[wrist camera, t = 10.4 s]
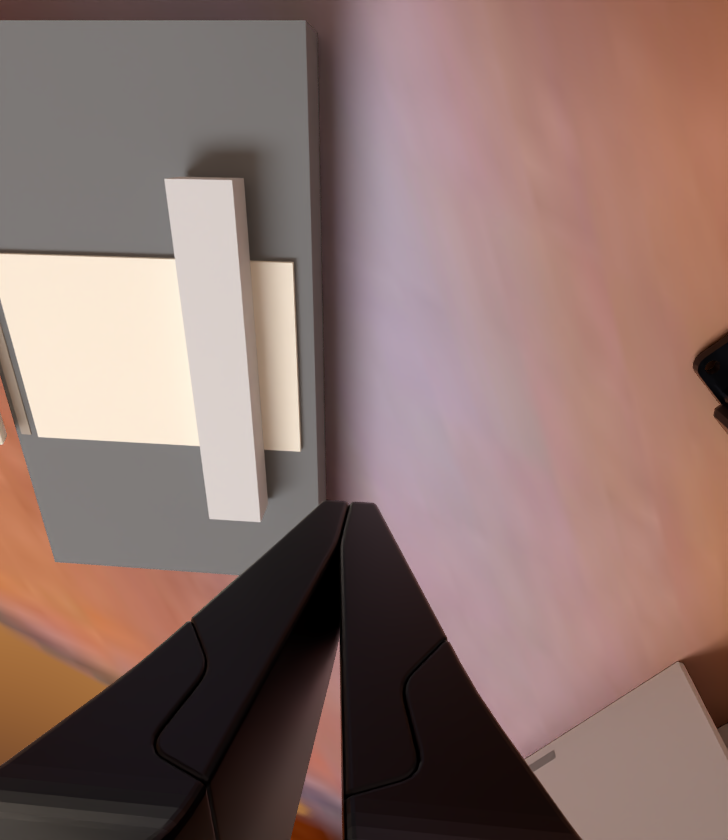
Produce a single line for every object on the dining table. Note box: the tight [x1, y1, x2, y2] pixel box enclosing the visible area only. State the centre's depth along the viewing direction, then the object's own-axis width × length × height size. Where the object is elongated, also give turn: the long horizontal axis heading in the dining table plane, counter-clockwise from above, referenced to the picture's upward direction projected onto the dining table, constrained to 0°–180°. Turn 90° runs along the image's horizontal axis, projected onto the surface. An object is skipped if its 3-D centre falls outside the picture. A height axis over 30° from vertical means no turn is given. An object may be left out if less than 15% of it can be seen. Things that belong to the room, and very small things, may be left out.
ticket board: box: [0, 20, 326, 575], centre depth 20 cm, size 12×20×3 cm, turn 179°
